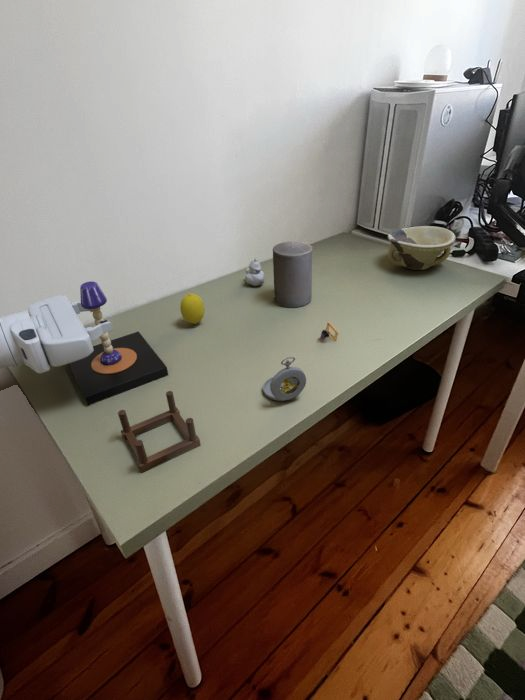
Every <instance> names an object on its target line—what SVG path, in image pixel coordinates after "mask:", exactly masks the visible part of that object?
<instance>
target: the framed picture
mask: <svg viewBox="0 0 525 700" xmlns="http://www.w3.org/2000/svg"><path fill="white" fill-rule="evenodd" d="M330 328H331V329H332V331H334V334H333V333H332V332H331V331H330ZM338 336H339V331H338V330H337V329H336V327H334V326H333V325H332V324H331V322H330V321H327V324H326V328H325V329H322V331H321V334H320V337H318V338H317V340H323V341H324V340H325V339H327V338H328V337H332V339H333V340H334V341H337V339H338Z"/></svg>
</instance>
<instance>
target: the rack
mask: <svg viewBox="0 0 525 700" xmlns="http://www.w3.org/2000/svg"><path fill="white" fill-rule="evenodd" d="M165 397H166V403H167V406H168V410H167V411H164V412H162V413H159V414H157V415H154V416H152V417H150V418H148V419H145V420H142V421H140V422H138V423H136V424H133V425H130V421H129V417H128V415H127V412H126V410H125V409H120V410H119V411H118V412H117V414H118V419H119V421H120V423H121V428H122V430H120V432H121V435H122V437H123V440H124V441H125V442H127V443H128V445H129V447H130V449H131V450H132V453H133V455H134V457H135V459H136V463H137V466H138V469H139V471H140V473H141V474H143V473H145V472H147V471H149V470H151V469H153V468H155V467H158V466H160V465H161V464H164V463H167V462H168V461H170V460H172V459H174V458H177V457H179V456H181V455H183V454H185V453H187V452H189V451H192V450H194V449H195V448H198V447H200V446H202V445H201V440H200V437H199V436H198V434H197V432H196V427H195V422H194V419H193V418H192V417H187V418H186V419H185V420H184V418H183V417H182V415H181V413H180V410H179V409H178V407H177V406H176V400H175V396H174V392H173V391H172V390H168V391H166V392H165ZM172 421H173V423H174V424H175V426H176V428H177V429H178V430H179V432H180V433H181V434H182V436H183V438H184V439H183V440H181V441H179V442H177V443H174V444H173V445H171V446H168V447H166V448H164V449H162V450H160V451H157V452H155V453H153V454H151V455H149V456H147V451H146V449H145V445H144V442H143V439H137V437H138V436H140V435H142V434H144V433H147V432H149V431H152V430H154V429H156V428H158V427H160V426H163V425H165V424H168V423H170V422H172Z"/></svg>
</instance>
